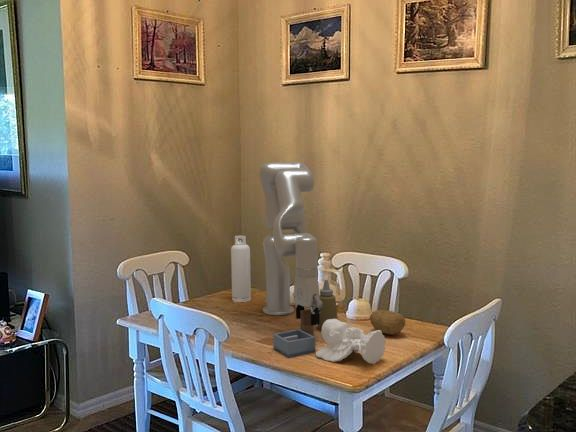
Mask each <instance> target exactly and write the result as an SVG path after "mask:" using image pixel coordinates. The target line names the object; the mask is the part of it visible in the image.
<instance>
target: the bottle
mask: <svg viewBox="0 0 576 432" xmlns="http://www.w3.org/2000/svg"><path fill="white" fill-rule="evenodd" d="M230 263H231V266H230V268H231V294H232V295H231V300H233V301H234V302H233V301H232V302H233V303H237V302H244V303H248V302H247V301H249V302H251V301H252V296H251V294H252V293H251V292H252V291H251V289H252V287H251V282H252V281H251V248H250V246H249V245H248V244H247V238H246V235H235V236H234V244H233V245H232V246H231V247H230ZM236 298H237V299H236ZM250 300H251V301H250Z"/></svg>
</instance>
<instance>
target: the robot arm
mask: <svg viewBox="0 0 576 432" xmlns="http://www.w3.org/2000/svg"><path fill="white" fill-rule="evenodd" d="M258 172H259V173H258V177H259V181H260V185H261V188H262V191H263V194H264V204H265V207H264V209H265V210H264V211H265V223H266V226H267V229H270V230H272V233H270V234H269V235H267V236H265V237H264V239H263V242H262V247H263V252H264V253H263V254H264V257H265V258H264V259H265V260H264V261H265V281H266V282H265V284H266V286H265V287H266V289H265V290H266V291H265V293H266V298H265V300H264V302H265V303H266V306H264V307H263V308H262V312H263V313H264V314H266V315H268V316H269V315H270V316H286V315H291V314H293V313H294V312H295V319H296V320H301V310H305V309H310V310H311V312H312V314H311V325H312V326H313V325H314V326H316V325H317V326H318V325H319V324H320V314H319V313H320V311H321V307H322V301H321V300H320V299H319V295H320V287H319V279H318V276H319V272H318V271H319V270H318V269H319V268H318V265H319V263H318V257H319V256H318V255H319V254H318V239H317V238H316V237H315V236H313V235H312V234H311V233H308V232H307V217H306V212H305V209H304V207H305V206H304V202H303V197H302V193H306V192H307V193H308V192H311V191H312V190H313V189H314V187H315V178H314V175H313V173H312V171H311V170H310V168H309V167H308V166H306V164H304V163H303V162H301V161H277V162H276V161H275V162H274V161H273V162H267V163H264V164H262V165H261V166H260V168H259V171H258ZM286 230H287V231H288V230H293V231H292V232H283V231H286ZM290 257H291V258H292V257H295V277H294V285H293V287H294V288H293V293H292V296H293V302H294V303H295V304H294V307H293V306H292V305H291V274H290V273H291V270H290V266H289V265H288V263H287V262H286V261H285V260H284V258H290Z"/></svg>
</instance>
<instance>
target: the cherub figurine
mask: <svg viewBox="0 0 576 432" xmlns="http://www.w3.org/2000/svg"><path fill="white" fill-rule="evenodd" d="M337 319H338V318H337ZM337 319H328V320H326V321H325V322H324V323H323V326H322V330H321V331H320V332H321V337H322V339H323V340H324V341H325V342H326V343H327V345H326V346H324V347H322V348H320V349H319V350H317V351H315V355H316V357H317V358H319V359H322V360H324V361H327V362H332V363H336V362H340V361H342V360H343V359H346V358H348V356H349V355H351V354H352V353H357V352H358V353H359V355H361V357H362V359H363V360H364V361H366V363H368V364H372V365H375V364H376V363H378V362H380V361H381V360H382V358H383V356H384V355H385V351H386V348H385V346H386V342H387V341H386V337H385V334H384V333H382V331H381V330H372V331H370V332H369V333H368V334H365V332H364V330H363V329H360V328H358V327H357V328H356V327H350V326H349V324H348V323H347V322H345V321H341V320H339V319H338V320H337ZM383 334H384V335H383Z"/></svg>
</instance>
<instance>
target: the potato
mask: <svg viewBox="0 0 576 432" xmlns="http://www.w3.org/2000/svg"><path fill="white" fill-rule="evenodd" d="M369 318H370V324H371V325H372V327H373V328H374V329H375V331H377V330H381V331H382V334H384V335H396V334H398V333H400V332H401V331H402V330H403V329H404V328H405V326H406V319H405V317H404V316H403V315H402V314H401V313H398V312H395V311H392V310H385V309H377V310H375V311H372V312H371V313H370V317H369Z"/></svg>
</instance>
